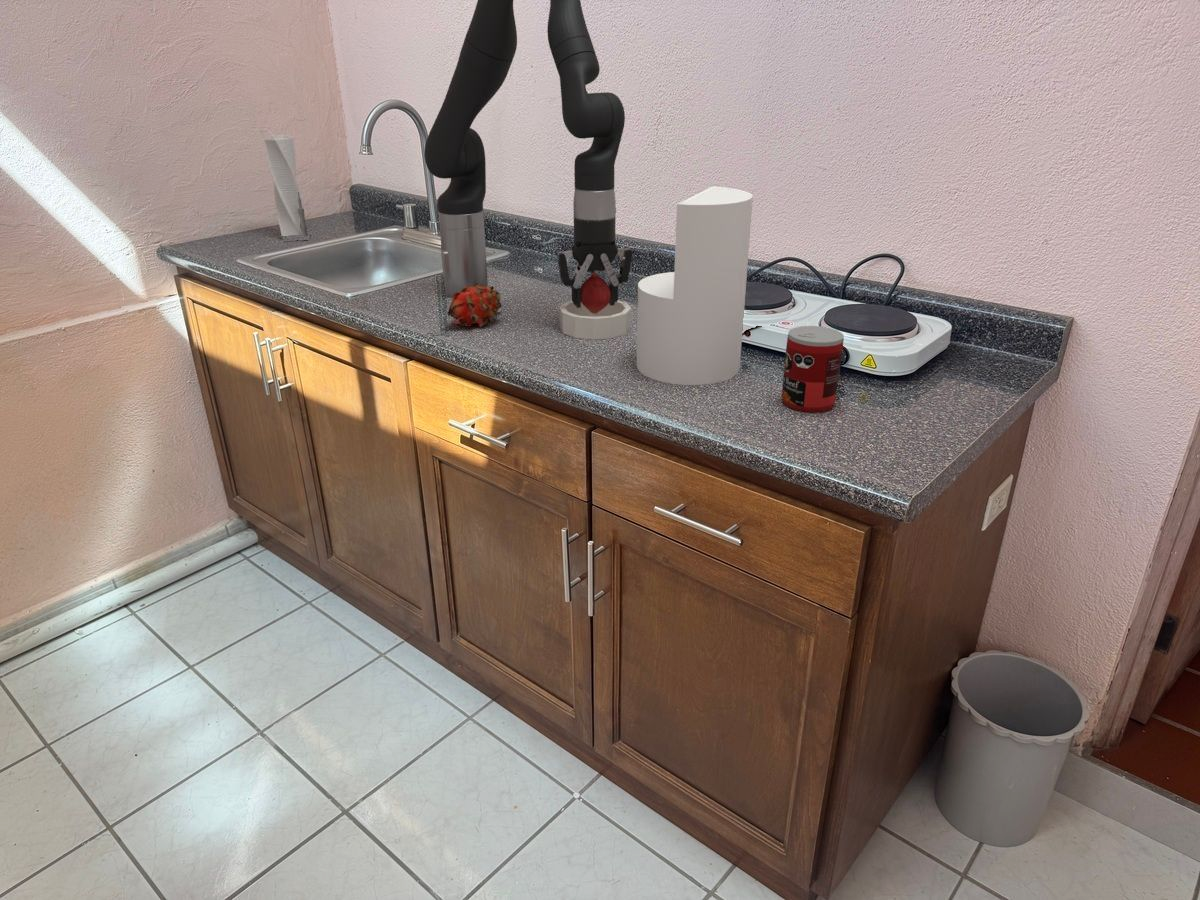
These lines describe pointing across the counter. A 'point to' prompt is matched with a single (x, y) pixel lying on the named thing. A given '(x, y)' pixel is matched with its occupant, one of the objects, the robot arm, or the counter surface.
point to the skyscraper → (285, 184)
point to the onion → (595, 293)
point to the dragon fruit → (475, 305)
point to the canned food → (812, 368)
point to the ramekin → (595, 321)
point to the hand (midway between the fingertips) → (594, 305)
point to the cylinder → (698, 294)
